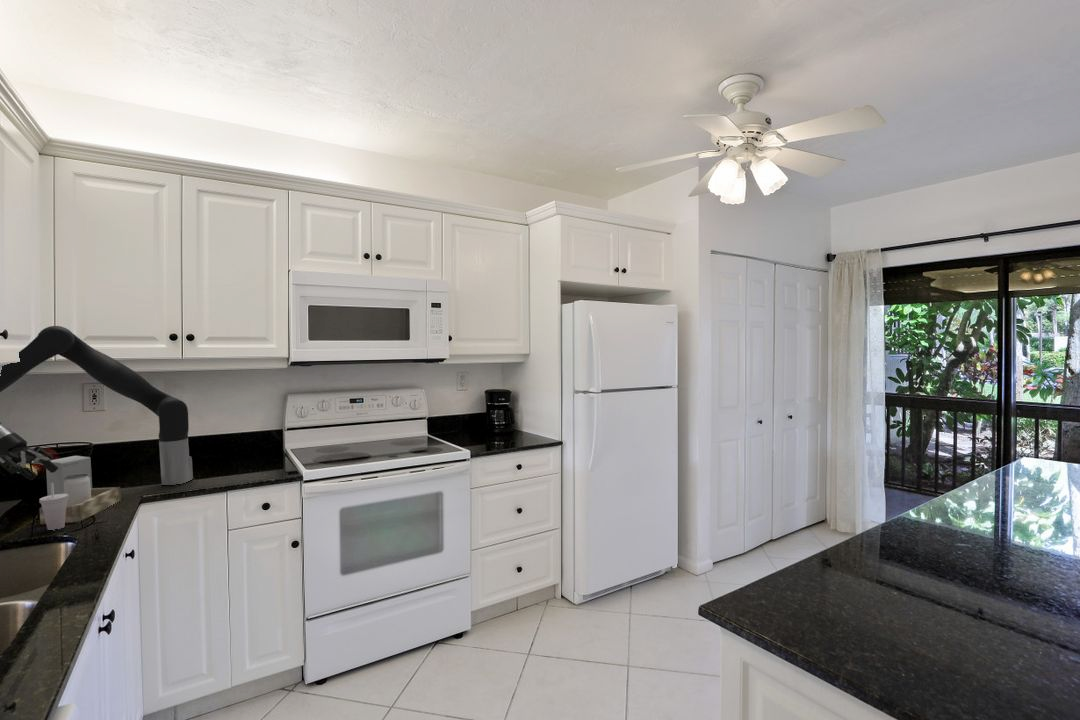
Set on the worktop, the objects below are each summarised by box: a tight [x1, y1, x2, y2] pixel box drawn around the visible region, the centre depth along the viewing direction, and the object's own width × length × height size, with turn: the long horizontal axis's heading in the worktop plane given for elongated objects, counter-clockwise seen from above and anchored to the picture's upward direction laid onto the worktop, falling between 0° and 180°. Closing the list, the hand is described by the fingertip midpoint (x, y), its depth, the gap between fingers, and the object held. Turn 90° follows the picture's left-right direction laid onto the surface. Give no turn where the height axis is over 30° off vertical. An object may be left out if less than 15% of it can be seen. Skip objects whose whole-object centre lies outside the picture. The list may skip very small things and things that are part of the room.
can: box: [64, 474, 91, 506], centre depth 169 cm, size 6×6×12 cm
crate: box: [39, 486, 122, 525], centre depth 169 cm, size 20×10×5 cm, turn 8°
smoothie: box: [38, 483, 69, 531], centre depth 155 cm, size 6×6×14 cm
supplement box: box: [45, 455, 93, 496], centre depth 180 cm, size 9×9×15 cm
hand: (45, 474), depth 167 cm, fingers open, 8 cm apart
